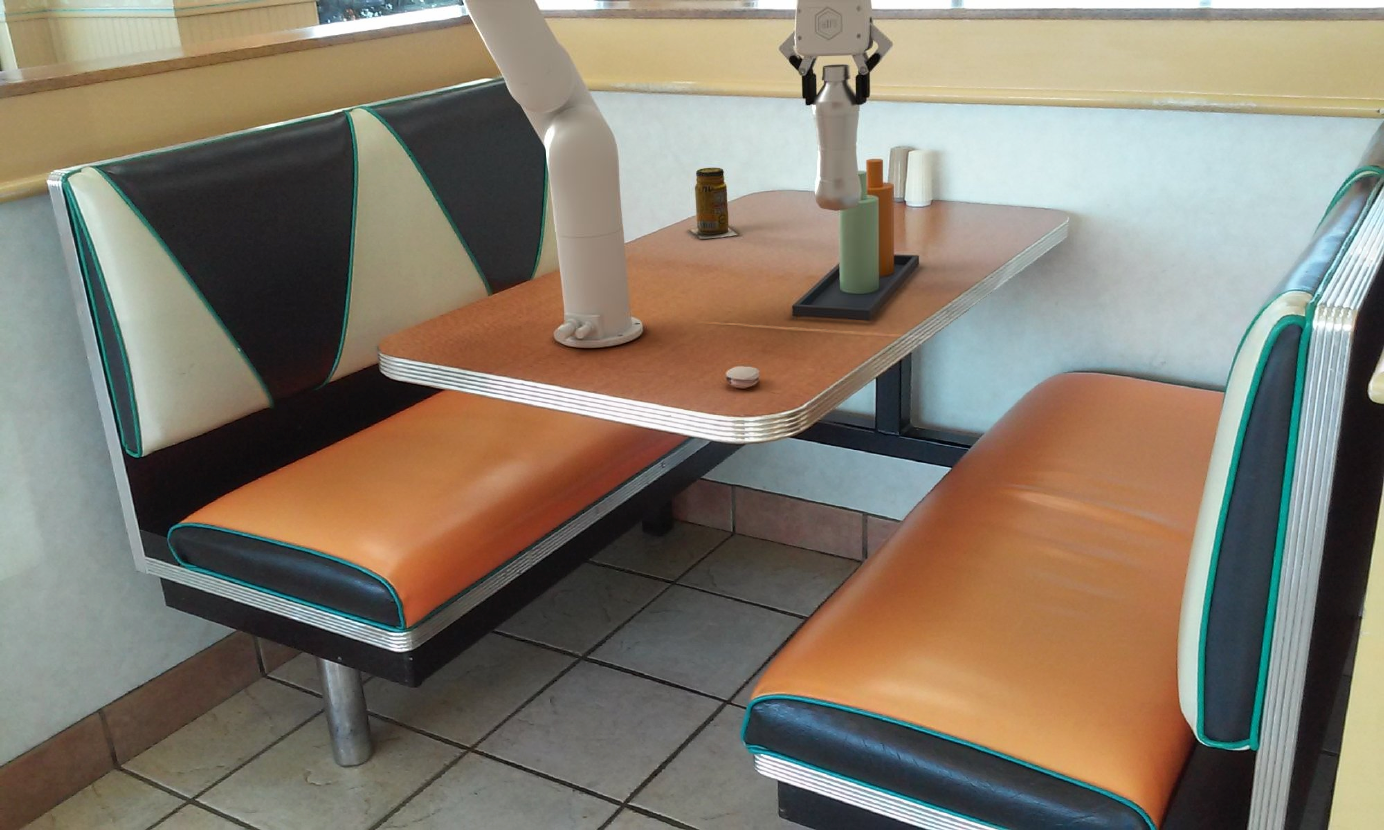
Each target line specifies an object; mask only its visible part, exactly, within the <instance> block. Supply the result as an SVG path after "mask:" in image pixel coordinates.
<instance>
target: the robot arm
mask: <svg viewBox="0 0 1384 830" xmlns="http://www.w3.org/2000/svg"><path fill="white" fill-rule="evenodd" d="M462 2H463V5H464V7H465V10H466V11H467V14H468V15H469V17H470V19H471V20H472V22H473V24H474V27H475V28H476V30H477V32H478V34H479V35H480V37H481V39H482V41H483V43H484V45H485V47H486V49H487V51H488V52H489V54H490V55H491V58H492V59H493V61H494V63H495V65H496V66H497V68H498V70H499V72H500V74H501V76H502V78H503V79H504V81H505V85H506V87H507V90H508V92H509V94H510V95H511V97H512V98H513V99H514V100H515V101H516V103H518V104H519V105H520V107H521V109H522V110H523V112H524V114H525V116H526V117H527V119H528V120H529V123H530V124H531V126H532V128H533V129H534V131H535V133H536V134H537V136H538V138H539V139H540V141H541V143H542V144H543V147H544V148H545V154H546V155H545V157H546V163H547V172H548V178H549V187H550V195H551V197H550V198H551V206H552V216H553V223H554V225H553V226H554V231H555V238H556V247H557V256H558V262H559V263H558V265H559V272H560V273H559V274H560V283H561V291H562V292H561V293H562V300H563V309H564V313H563V320H564V322H563V323H562V324H561V325H559V326H558V328H556V329H554V331H553V338H554V340H555V341H556V342H559V343H560V344H562V345H564V346H567V347H572V348H579V349H583V348H584V349H599V348H609V347H614V346H619V345H622V344H626V343H628V342H632V341H633V340H635V339H637V338H639V337H640V336H641V335H642V334H643V332H644V326H643V322H642V321H641V320H640V319H639V318H636V317H634V316H632V309H631V299H630V287H629V277H628V267H627V255H626V244H625V232H624V231H625V230H624V224H623V212H622V201H621V199H622V198H621V185H620V183H621V182H620V159H619V149H618V146H617V141H616V138H615V135H614V133H613V131H612V129H611V127H610V125H609V124H608V122H607V121H606V118H605V117H604V115H603V114H602V112H601V110H600V108H599V107H598V104H597V103H596V101H595V99H594V98H593V96H592V94H591V92H590V90H589V89H588V87H587V85H586V83H585V81H584V80H583V78H582V76H581V74H580V72H579V70H578V68H577V67H576V65H575V63H574V61H573V59H572V58H571V56H570V54H569V52H568V51H567V49H566V48H565V47H564V46H563V45H562V44H561V43H560V42H559V41H558V39H557V38H556V37H555V35H554V33H553V31H552V29H551V28H550V26H549V25H548V22H547V20H546V19H545V17H544V15H543V13H542V11H541V9H540V7H539V5H538V3H537V1H536V0H462ZM873 15H874V14H873V5H872V0H796V3H795V16H794V17H795V19H794V30H793V31H792V32H791V33H790V34H789V35H788V36H787V38H786V39H785V40H784V41H783V42H782V43H780V46H779V47H778V50H779V52H780V53H781V54H782V55H783V57H784V58H785V59H786V60H787V61H788V63H789V64H790V66H792V67H793V68H794V69H795V70H796V71H797V72H798V76H801V97H802V99H804V101H805V102H804V103H805V106H811V105H812V106H813V102H814V99H815V97H816V95H817V94H818V91H817V90H818V89H817V88H818V86H817V83H818V82H817V74H816V73H815V72H814V67H815V65H816V63H817V60H818V58H819V57H842V56H843V57H844V56H846V57H847V56H851V57H852V59H853V61H854V63H855V65H856V68H857V74H856V75H855V77H854V78H855V79H854V81H855V83H854V84H855V94H856V104H857V105H860V106H862V105H864V104H866V103H867V100H868V99H869V98H870V96H871V72H873V70H874V68H876V66H877V65H879V64H880V62H881V61H882V60H883V58H884V57H885V56H886V55H887V54H888V53H889V51H890V50H891V49H892V47H893V46H894V44H893V41H892V40H891V39H890V38H889V37H888V36H887V35H885V33H884V32H882V31H881V30H880V29H879V28H878V27H877V26H876V25H875V24H874V17H873ZM874 42H875V43H876V44H877V48H876V49H875V51H874V52H873V53H872V54H871V55H870V56H869V55H868V53H867V51H869V50H871V49H872V48H873V46H874ZM802 56H803V57H802Z"/></svg>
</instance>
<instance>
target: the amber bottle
mask: <svg viewBox="0 0 1384 830" xmlns="http://www.w3.org/2000/svg"><path fill="white" fill-rule="evenodd" d="M865 171H866V172H867V195H873V196H876V197H878V210H879V277H881V276H887V275H890V274H892V273H894V254H895V185H894V183H891V182H887V181H886V182H885V181H884V160H883V159H882V158H869V159H866V160H865Z"/></svg>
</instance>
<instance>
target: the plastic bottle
mask: <svg viewBox="0 0 1384 830" xmlns="http://www.w3.org/2000/svg"><path fill="white" fill-rule="evenodd" d="M850 67H851V66H850V64H846V63H845V64H843V63H842V64H841V63H839V64H838V63H837V64H826V65H823V66H822V76H821V81H823V85H822V86H821V87H820V89H819V90H818V91H817V95H816V97H815V99H814V102H813V104H812V114H813V121H814V126H815V132H816V143H817V167H816V178H815V183H814V198H815V202H816V205H818V207H819V208H820V209H823V210H828V211H835V212H838V211H842V210H846V209H850V208H854V207H856V206H857V205H858V203H859V202H860V199H861V192H862V190H861V183H860V179H859V176H858V171H859V167H858V156H857V140H858V126H859V119H860V118H859V117H860V110H861V105H857V104H856V91H854V89H853V87H852V86H851V85H850V84H849V80H851V74H850V73H851V70H850V69H851V68H850Z"/></svg>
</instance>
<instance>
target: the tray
mask: <svg viewBox="0 0 1384 830" xmlns="http://www.w3.org/2000/svg"><path fill="white" fill-rule="evenodd" d="M919 265H920V255H918V254H899V253H898V254H895V253H894V273H892V274H890V275H887V276H881V277H879V289H878V290H876V291H874V292H870V293H864V294H852V293H846V292H843V291H841V290H840V265H839V263H837V264H836V265H835V266H834V267H833V268H832V269H831V270H830V271H828V273H826V274H825V275H824V276H823V277H822V278H821V279H820V280H819V281H818V282H816V284H814V285H813V286H812V287H811V288H810V289H808V291H807V292H806V293H804V294H803V295H802V296H801V297H800V298H799V299H798V300H797V301H796V302H795V303H793V304H792V305H791V310H792V311H791V312H792V313H791V314H792V317H802V318H803V317H806V318H818V319H819V318H821V319H835V320H836V319H838V320H853V321H865V322H866V321H867V322H868V321H869V322H870V321H871V320H872V319H873V318H874V317H875V316H876V314H877V313H878V312H879V311H880V310H881V308H882V307H884V305H885V304H886V303H887V302H888V300H889V299H890V298H892V296H894V294H895V293H896V292H897V290H898V289H899V288H901V286H902V285H903V284H904V282H905V281H906V280H907V279H908V277H910V275H911V274H912V273H913V272H914V271H915V270H916V268H917V267H918V266H919Z"/></svg>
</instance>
